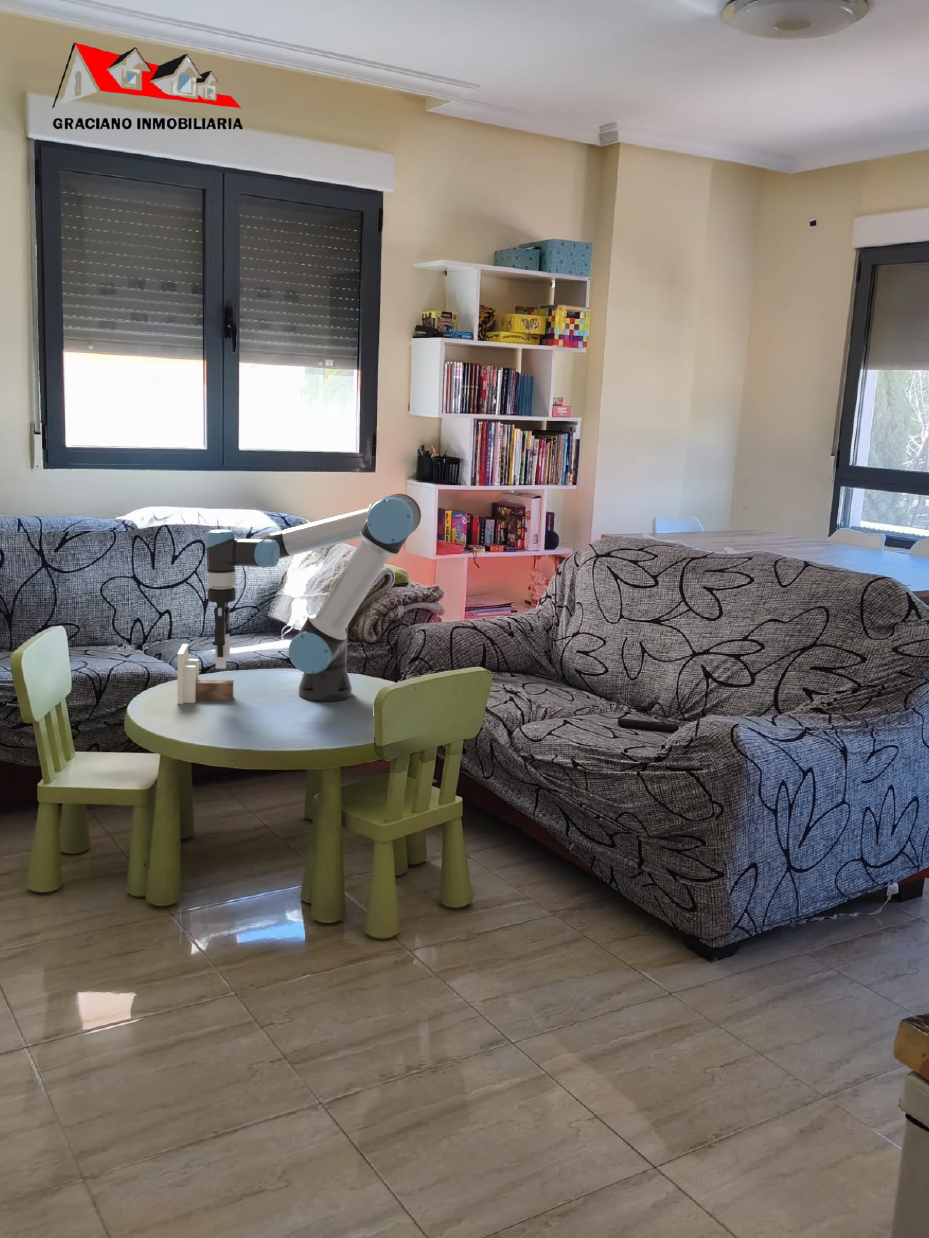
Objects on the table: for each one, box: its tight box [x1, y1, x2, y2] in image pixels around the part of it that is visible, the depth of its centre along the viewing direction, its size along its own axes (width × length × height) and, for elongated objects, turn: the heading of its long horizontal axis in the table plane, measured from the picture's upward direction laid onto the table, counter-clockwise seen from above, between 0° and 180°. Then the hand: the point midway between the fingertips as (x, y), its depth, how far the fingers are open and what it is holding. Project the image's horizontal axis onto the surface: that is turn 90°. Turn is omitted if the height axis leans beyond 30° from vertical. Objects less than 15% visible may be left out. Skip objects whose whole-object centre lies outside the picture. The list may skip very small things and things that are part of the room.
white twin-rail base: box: [177, 643, 200, 705], centre depth 301 cm, size 4×12×14 cm, turn 8°
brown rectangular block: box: [196, 679, 234, 701], centre depth 303 cm, size 12×4×5 cm, turn 98°
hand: (222, 662), depth 302 cm, fingers open, 13 cm apart
